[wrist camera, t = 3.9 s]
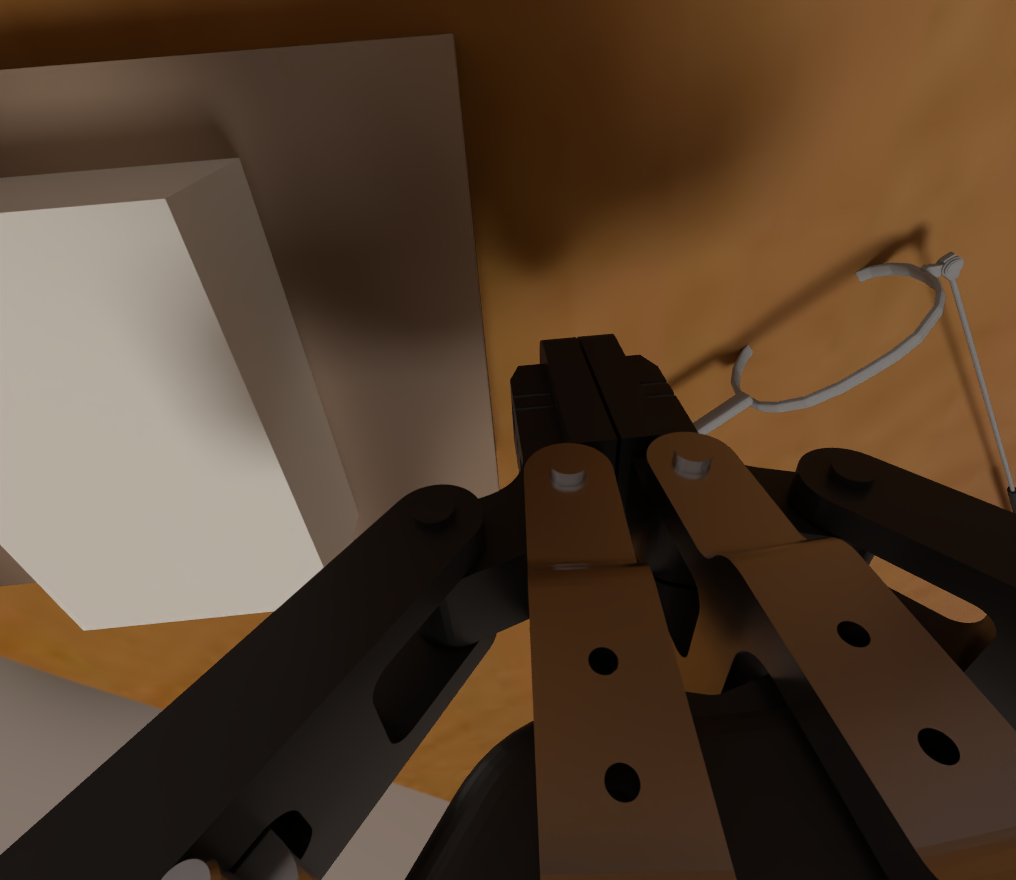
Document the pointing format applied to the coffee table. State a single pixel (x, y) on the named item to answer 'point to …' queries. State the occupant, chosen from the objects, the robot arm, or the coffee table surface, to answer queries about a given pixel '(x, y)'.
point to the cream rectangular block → (157, 400)
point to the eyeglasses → (926, 274)
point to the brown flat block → (317, 225)
